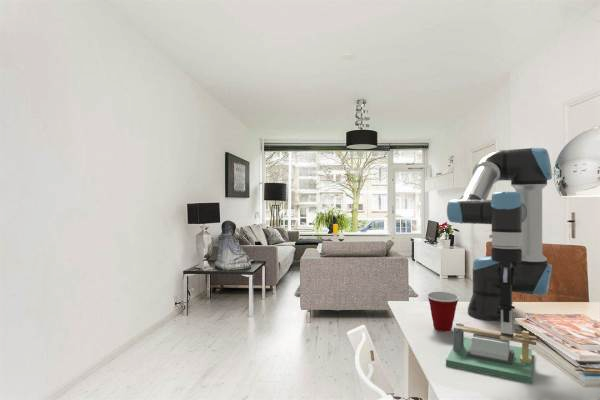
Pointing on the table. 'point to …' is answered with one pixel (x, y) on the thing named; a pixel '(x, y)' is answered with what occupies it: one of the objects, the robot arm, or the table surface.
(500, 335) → the strap
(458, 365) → the board
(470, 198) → the robot arm
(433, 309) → the plastic cup
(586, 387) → the table surface
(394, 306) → the table surface
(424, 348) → the table surface
